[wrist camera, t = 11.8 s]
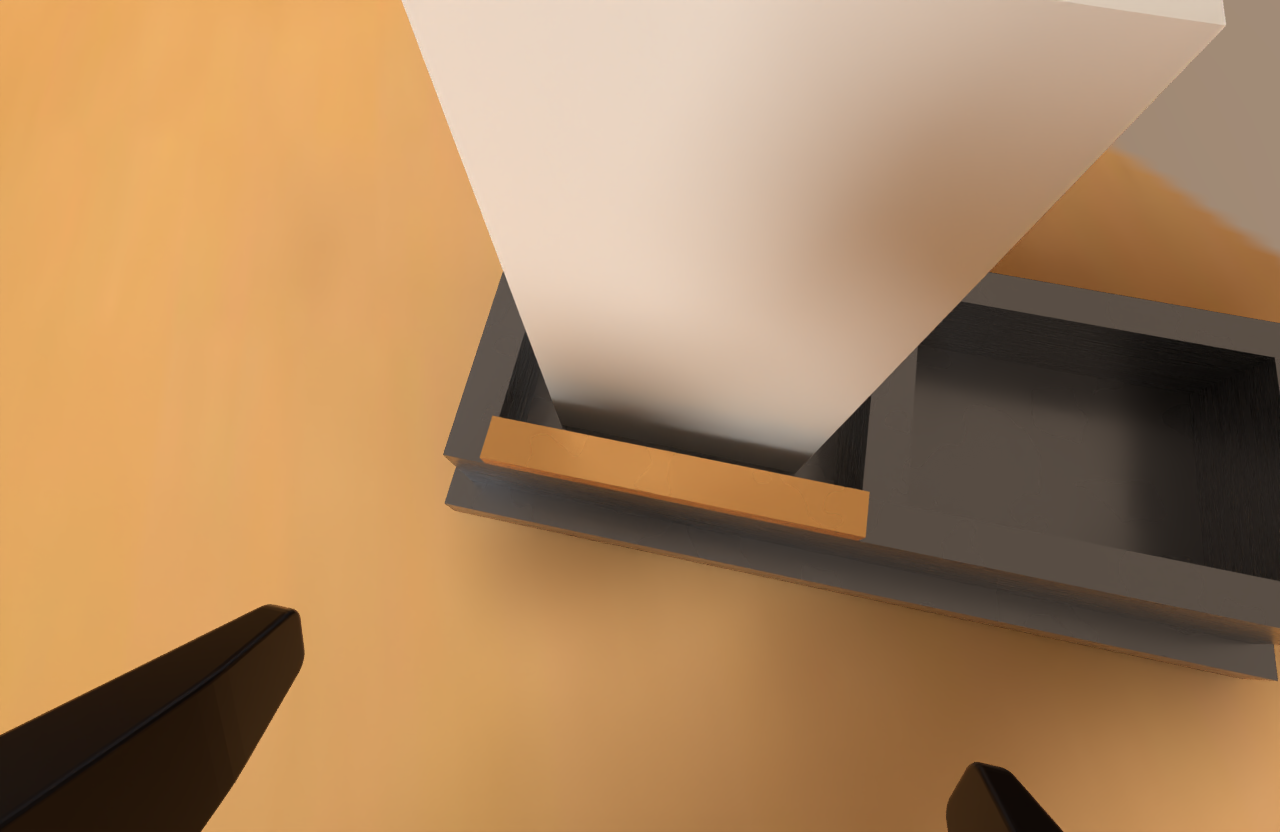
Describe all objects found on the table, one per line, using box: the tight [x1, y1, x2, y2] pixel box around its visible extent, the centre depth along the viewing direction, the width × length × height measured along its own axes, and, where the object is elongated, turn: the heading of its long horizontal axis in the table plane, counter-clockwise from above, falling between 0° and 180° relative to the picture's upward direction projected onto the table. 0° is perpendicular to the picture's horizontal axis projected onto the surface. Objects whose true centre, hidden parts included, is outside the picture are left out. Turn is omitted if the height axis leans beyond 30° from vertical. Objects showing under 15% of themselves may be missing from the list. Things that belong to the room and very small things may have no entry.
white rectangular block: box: [402, 0, 1226, 473], centre depth 11 cm, size 4×6×13 cm, turn 78°
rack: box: [443, 271, 1280, 681], centre depth 16 cm, size 9×21×4 cm, turn 78°
